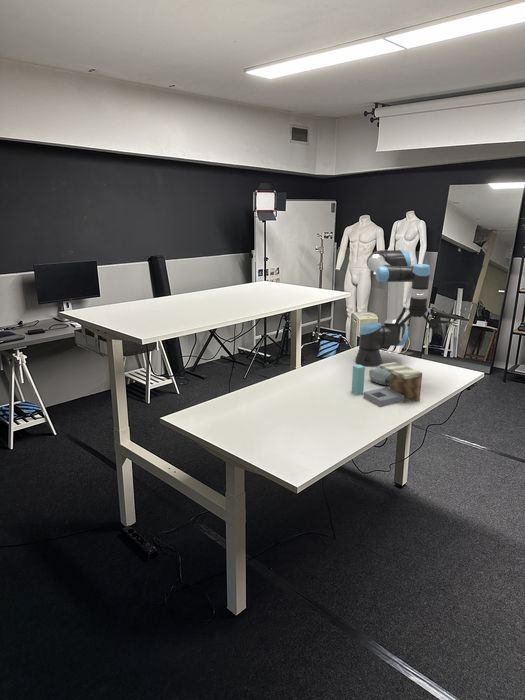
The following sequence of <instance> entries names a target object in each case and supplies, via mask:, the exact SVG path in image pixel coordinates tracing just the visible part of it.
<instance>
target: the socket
mask: <svg viewBox="0 0 525 700" xmlns="http://www.w3.org/2000/svg"><path fill="white" fill-rule="evenodd" d="M363 399H365V400H367V401H368V402H371V403H372V404H374V405H375V406H378V407H379V408H380V407H385V406H389V405H393V404H399V403H404V402H405V401H404V400H405V396H404V395H402V394H400V393H398V392H396V391H394V390H392V389H390V387H387V386H385V387H380V388H375V389H372V390H367V391H363Z"/></svg>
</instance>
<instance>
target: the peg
mask: <svg viewBox="0 0 525 700" xmlns="http://www.w3.org/2000/svg"><path fill="white" fill-rule="evenodd" d="M365 367H366V366H363V365H359V364H354V365H352V377H351V378H352V379H351V394H353V395H355V396H361V395H364V390H365V389H364V385H365V384H364V383H365V372H366V371H365V370H366V368H365Z"/></svg>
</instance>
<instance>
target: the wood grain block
mask: <svg viewBox="0 0 525 700" xmlns="http://www.w3.org/2000/svg"><path fill="white" fill-rule="evenodd" d="M378 367H379V368H381V369H383V370H385V371H388V372H390V373H391V383H390V385H389V388H390V389H392V390H394V391H396V392H398V393H400V394H402V395H404V398H408V399H410V400H412V401H414V402H420V399H421V389H422V380H423V372H422V371H419V370H417V369H414V368H412V367H409V366H407V365H404V364H401V363H399V362H396V361H393V362H387V363H383V364H382V363H381V365H378Z"/></svg>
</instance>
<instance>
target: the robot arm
mask: <svg viewBox="0 0 525 700" xmlns="http://www.w3.org/2000/svg"><path fill="white" fill-rule="evenodd" d="M411 258H412V257H411V254H410V253H409V251H407V250H400V249H398V250H397V249H395V250H393V249H390V250H387V249H386V250H383V249H382V250H376V251H373V252H372V253H370V255H369V256H367V259H366V266H367V268H368V269H369V270H370V271H371V272H373V273H374V272H375V280H376V281H377V282H379V283H380V282H381V283H387V284H388V285H387V310H386V312H387V313H386V314H387V315H386V320H385V321H384V322H383V325H382V324H381V322H367V323H363V324H362V325H361V326H360V327H359V329H360V330H359V341H358V342H359V343H358V351H357V353H356V356H355V358H354V359H355V360H354V362H355V364H356V365H362V366H364V367H379V365H382V362H383V361H382V356H381V351H380V348H381V346H382V347H384V346H386V347H391V346H392V347H397V346H398V347H400V346H404V345H405V344H406V342H407V340H408V337H409V326H408V325H406V322H408V320H410V319H411V318H412V317H414V318H423V319H424V320H425V322H427V324H428V325H429V326H430V328H429V333H428V343H431V342H432V336H434V335H435V329H439V327H440V326H439V324H438V323H439V322H438V321H437V319H436V317H435V314H434V308H433V307H430V308H427V305H428V299H427V298H428V295H429V294H428V293H429V286H430V275H431V266H430V265H429V264H425V263H415V264H414V265H412V259H411ZM405 283H411V291H410V301H409V307H406V306H405V305H404V288H405ZM407 311H408V312H409V313H408V315H406V316H405V317H404V318H403V316H404V315H405V313H407ZM427 312H428V313H429V314H430V316H431V318H432V320H433V322H432V321H431V320H430V318H428V316H427V315H426V313H427ZM433 323H434V324H433Z"/></svg>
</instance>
